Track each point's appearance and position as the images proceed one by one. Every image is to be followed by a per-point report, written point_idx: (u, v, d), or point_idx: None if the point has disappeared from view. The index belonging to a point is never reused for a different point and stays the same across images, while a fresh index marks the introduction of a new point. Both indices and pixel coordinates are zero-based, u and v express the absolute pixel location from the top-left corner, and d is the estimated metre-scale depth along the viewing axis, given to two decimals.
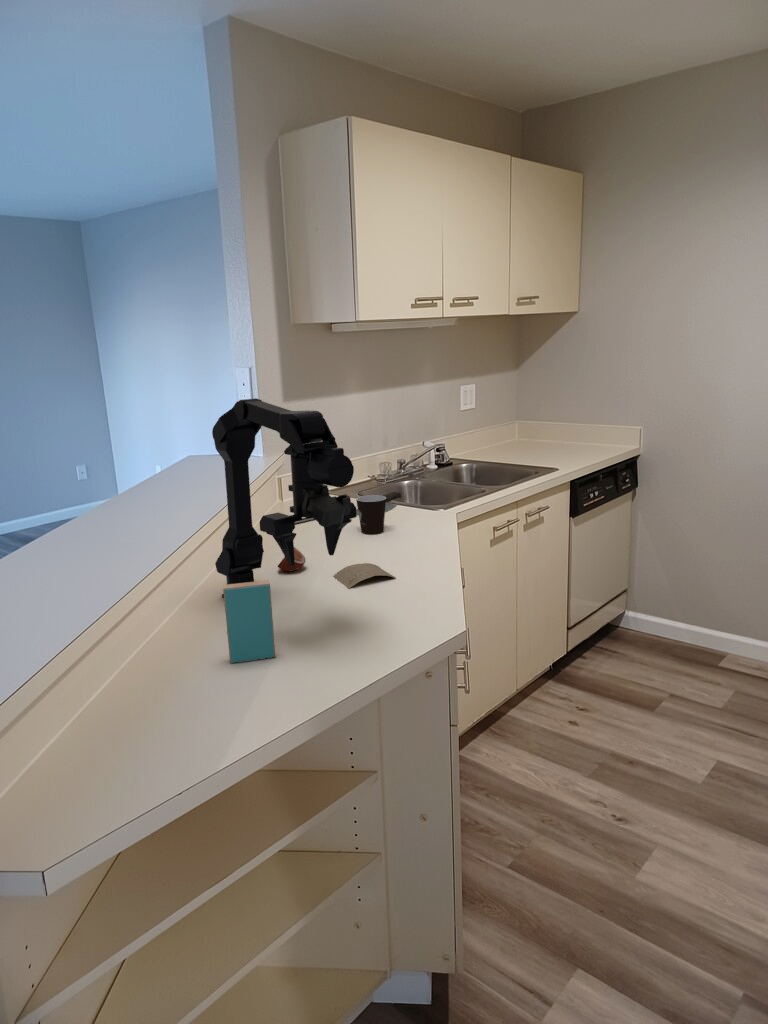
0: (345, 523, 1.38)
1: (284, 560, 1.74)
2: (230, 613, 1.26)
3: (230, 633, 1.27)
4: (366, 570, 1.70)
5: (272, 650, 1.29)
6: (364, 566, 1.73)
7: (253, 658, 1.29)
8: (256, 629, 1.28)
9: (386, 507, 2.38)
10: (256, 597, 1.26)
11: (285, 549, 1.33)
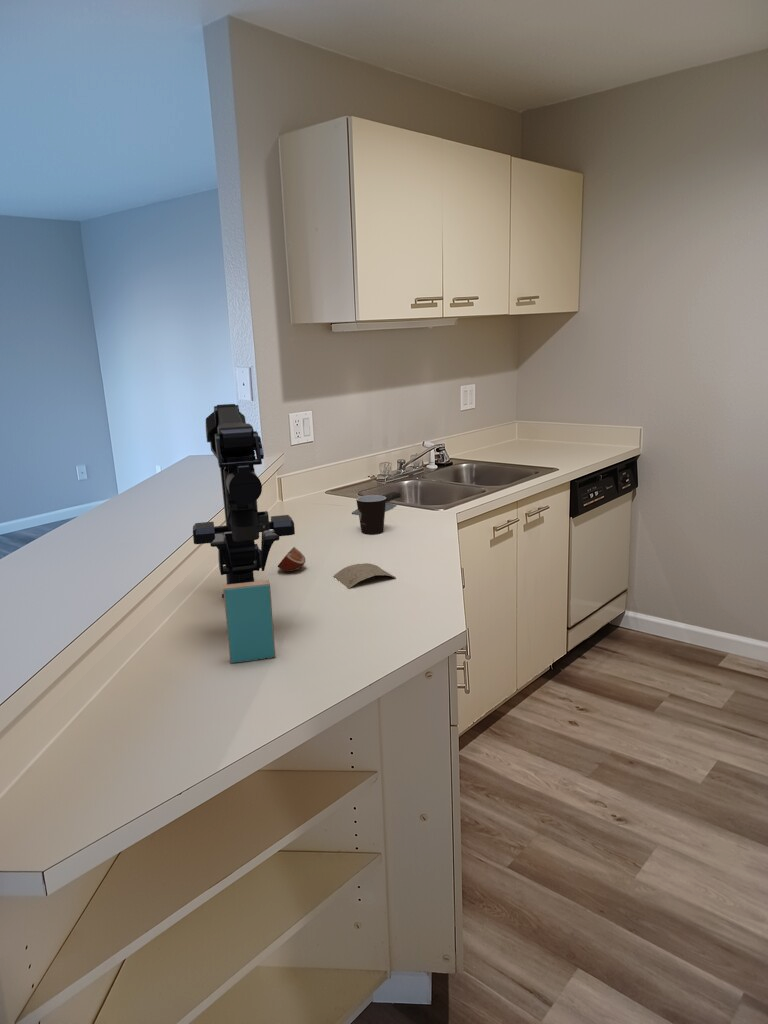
0: (270, 540, 1.37)
1: (284, 560, 1.74)
2: (230, 613, 1.26)
3: (230, 633, 1.27)
4: (366, 570, 1.70)
5: (272, 650, 1.29)
6: (364, 566, 1.73)
7: (253, 658, 1.29)
8: (256, 629, 1.28)
9: (386, 507, 2.38)
10: (256, 597, 1.26)
11: None
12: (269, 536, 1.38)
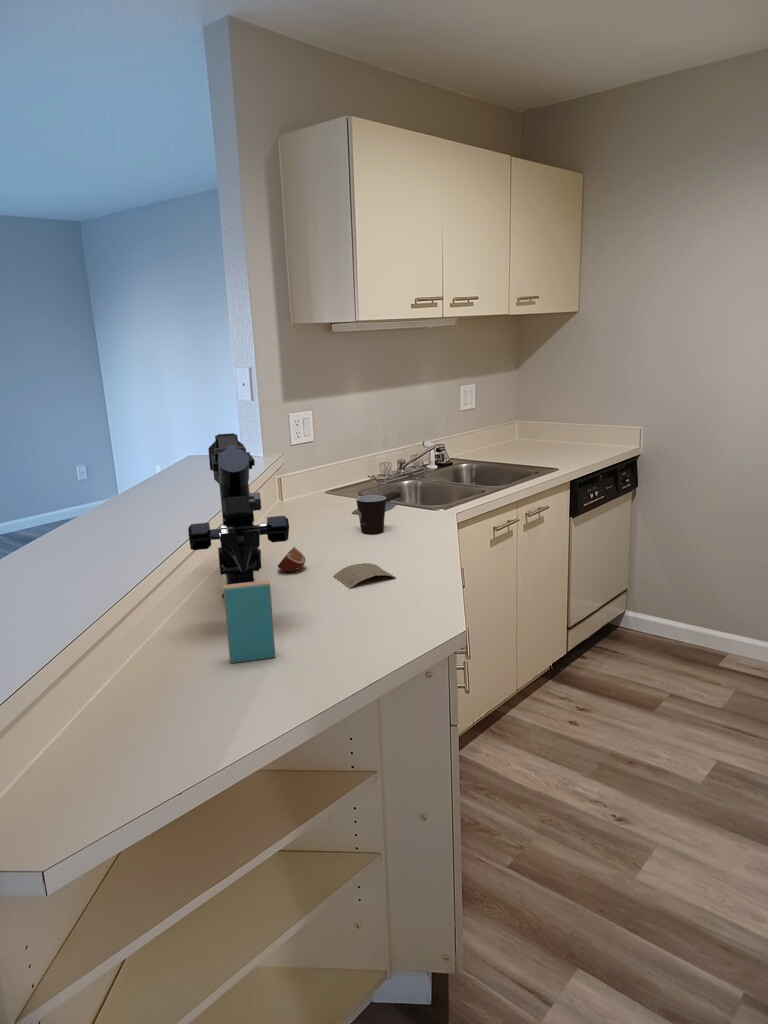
0: (250, 533, 1.36)
1: (284, 560, 1.74)
2: (230, 613, 1.26)
3: (230, 633, 1.27)
4: (366, 570, 1.70)
5: (272, 650, 1.29)
6: (364, 566, 1.73)
7: (253, 658, 1.29)
8: (256, 629, 1.28)
9: (386, 507, 2.39)
10: (256, 597, 1.26)
11: (234, 556, 1.36)
12: None
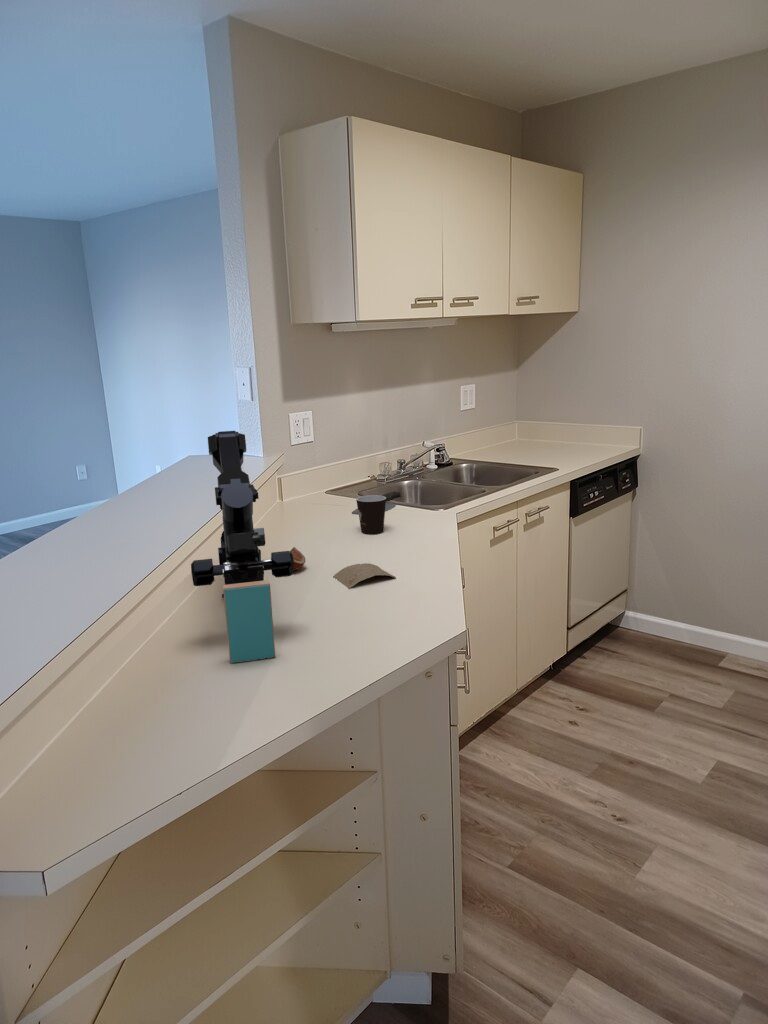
0: (254, 569, 1.34)
1: None
2: (230, 613, 1.26)
3: (230, 633, 1.27)
4: (366, 570, 1.70)
5: (272, 650, 1.29)
6: (364, 566, 1.73)
7: (253, 658, 1.29)
8: (256, 629, 1.28)
9: (386, 507, 2.39)
10: (256, 597, 1.26)
11: None
12: None
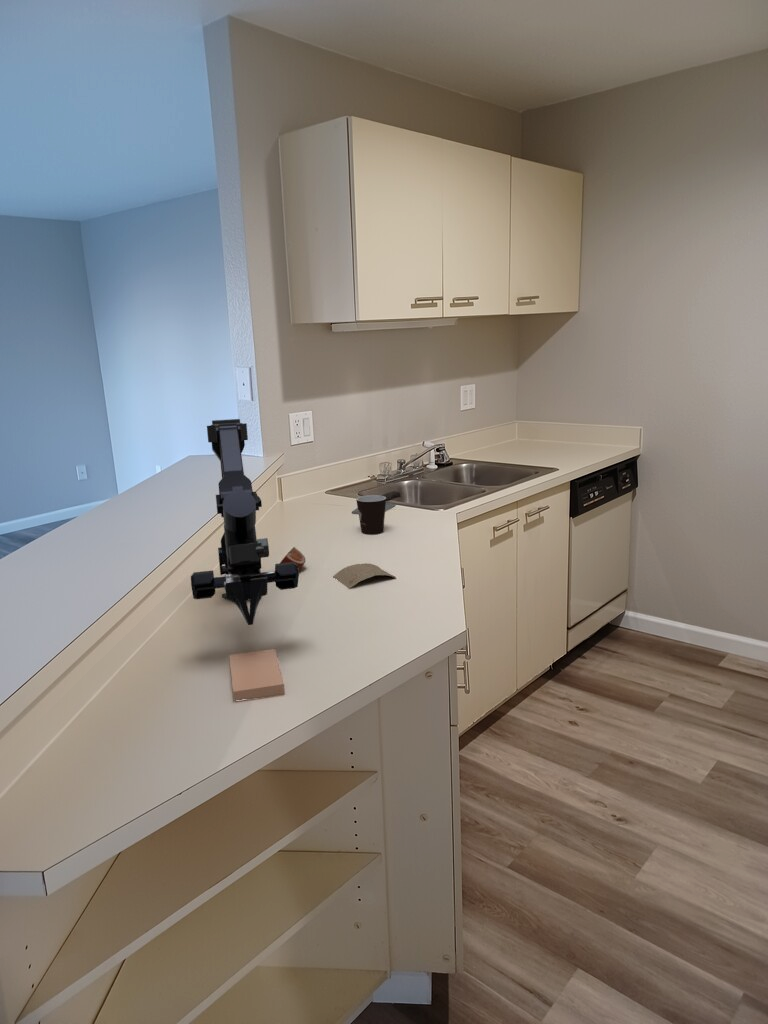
0: (257, 582, 1.27)
1: (284, 560, 1.74)
2: None
3: None
4: (366, 570, 1.70)
5: None
6: (364, 566, 1.73)
7: None
8: None
9: (386, 506, 2.39)
10: None
11: (240, 606, 1.27)
12: None
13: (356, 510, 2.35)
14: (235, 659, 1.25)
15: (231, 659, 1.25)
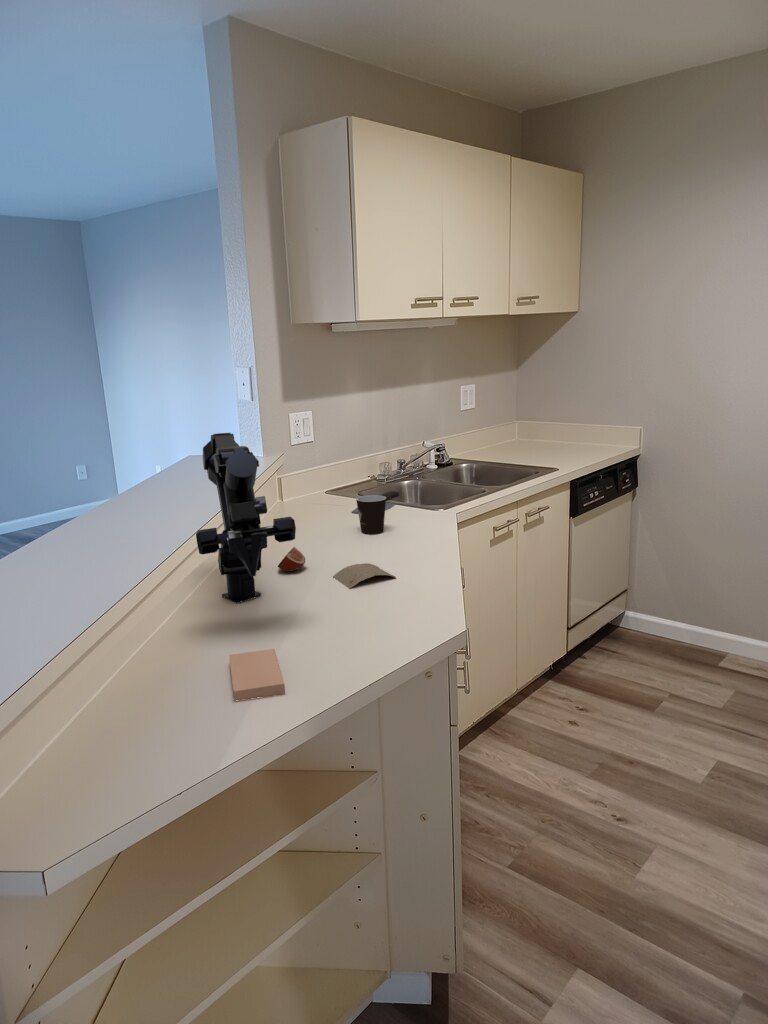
0: (258, 537, 1.37)
1: (284, 560, 1.74)
2: None
3: None
4: (366, 570, 1.70)
5: None
6: (363, 566, 1.73)
7: None
8: None
9: (385, 506, 2.40)
10: None
11: (243, 560, 1.38)
12: None
13: (356, 510, 2.35)
14: (234, 659, 1.25)
15: (231, 659, 1.26)
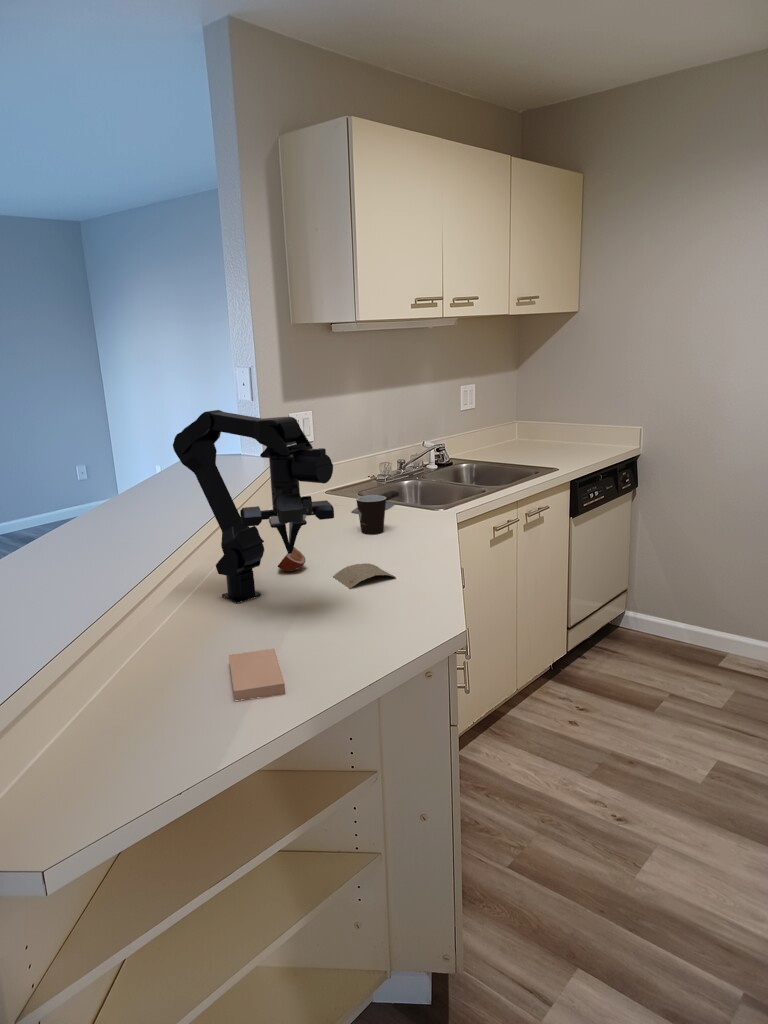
0: (298, 525, 1.47)
1: (284, 560, 1.74)
2: None
3: None
4: (366, 570, 1.70)
5: None
6: (363, 566, 1.73)
7: None
8: None
9: (385, 506, 2.40)
10: None
11: None
12: None
13: (356, 510, 2.35)
14: (234, 659, 1.25)
15: (231, 659, 1.26)
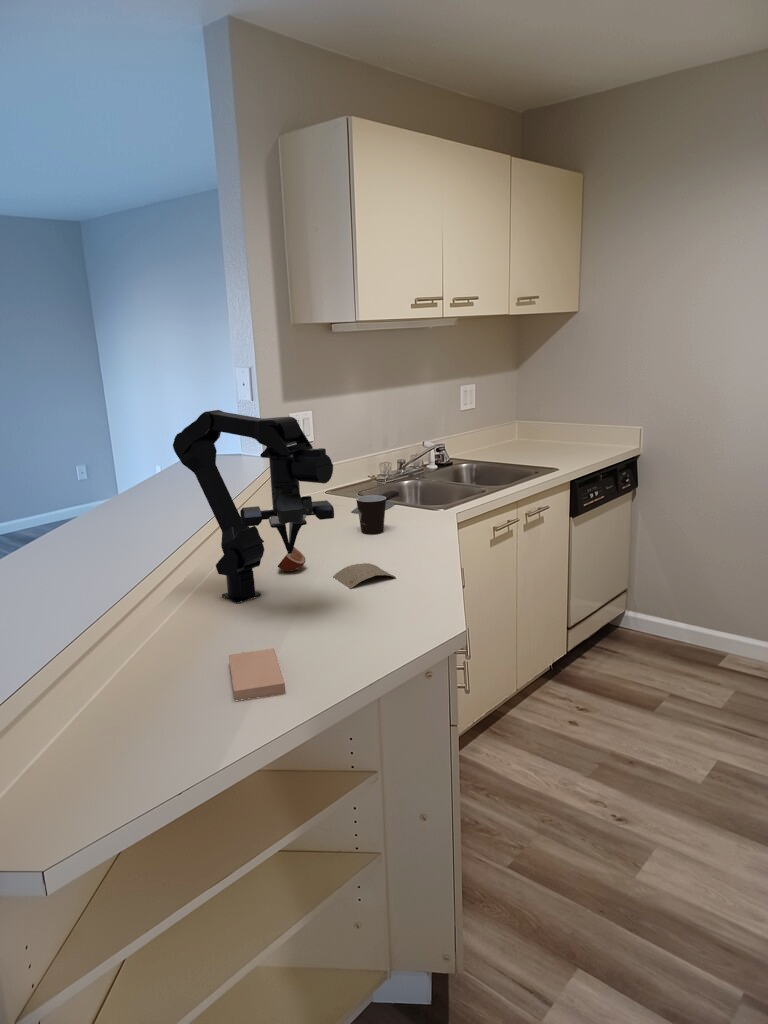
0: (298, 525, 1.47)
1: (284, 560, 1.74)
2: None
3: None
4: (366, 570, 1.70)
5: None
6: (363, 566, 1.73)
7: None
8: None
9: (385, 506, 2.40)
10: None
11: None
12: None
13: (356, 509, 2.36)
14: (234, 659, 1.25)
15: (231, 659, 1.26)
